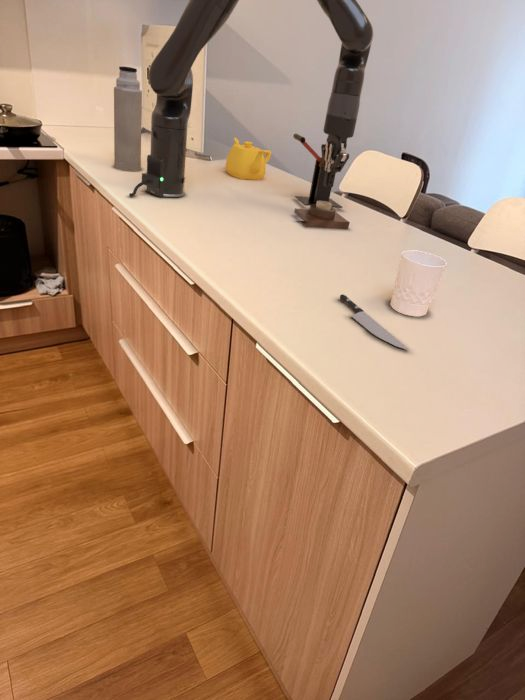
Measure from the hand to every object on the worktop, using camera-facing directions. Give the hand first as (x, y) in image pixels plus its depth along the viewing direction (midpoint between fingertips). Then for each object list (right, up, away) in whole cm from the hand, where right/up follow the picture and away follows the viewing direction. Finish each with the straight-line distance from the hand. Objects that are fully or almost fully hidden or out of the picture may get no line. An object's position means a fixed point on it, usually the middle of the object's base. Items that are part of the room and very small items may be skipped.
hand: (327, 186), depth 132 cm
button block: (-1, -8, +5) cm, 10 cm away
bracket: (0, +1, +21) cm, 21 cm away
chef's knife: (+1, -38, -46) cm, 59 cm away
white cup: (+10, -35, -37) cm, 52 cm away
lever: (-3, +13, +12) cm, 18 cm away
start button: (-1, -5, +3) cm, 6 cm away
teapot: (-22, +18, +43) cm, 52 cm away
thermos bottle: (-59, +15, +28) cm, 67 cm away
